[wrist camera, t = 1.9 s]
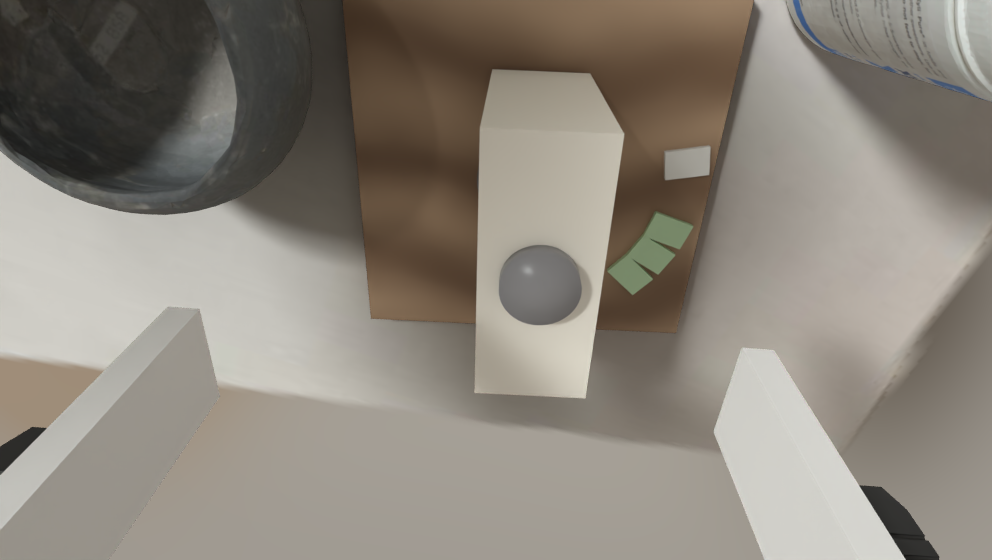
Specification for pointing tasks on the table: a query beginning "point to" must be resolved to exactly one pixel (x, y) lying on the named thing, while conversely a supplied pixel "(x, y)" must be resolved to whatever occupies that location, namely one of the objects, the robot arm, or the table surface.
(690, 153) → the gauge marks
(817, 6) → the supplement tub
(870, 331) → the table surface
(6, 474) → the robot arm
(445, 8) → the board
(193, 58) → the bowl
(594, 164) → the white block with knob
